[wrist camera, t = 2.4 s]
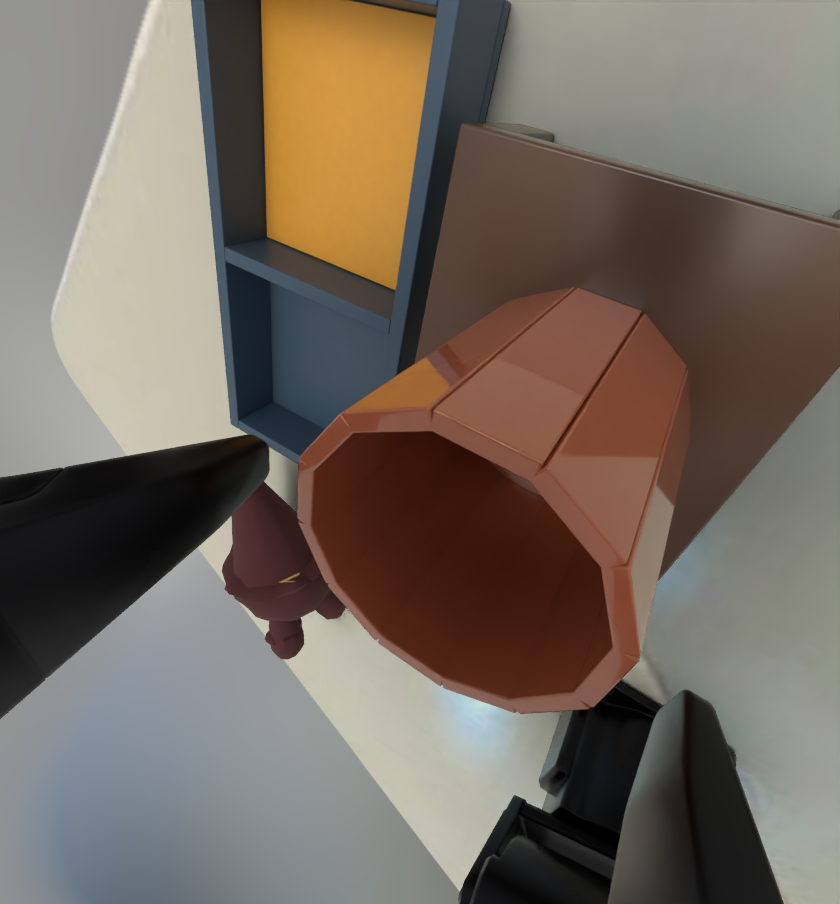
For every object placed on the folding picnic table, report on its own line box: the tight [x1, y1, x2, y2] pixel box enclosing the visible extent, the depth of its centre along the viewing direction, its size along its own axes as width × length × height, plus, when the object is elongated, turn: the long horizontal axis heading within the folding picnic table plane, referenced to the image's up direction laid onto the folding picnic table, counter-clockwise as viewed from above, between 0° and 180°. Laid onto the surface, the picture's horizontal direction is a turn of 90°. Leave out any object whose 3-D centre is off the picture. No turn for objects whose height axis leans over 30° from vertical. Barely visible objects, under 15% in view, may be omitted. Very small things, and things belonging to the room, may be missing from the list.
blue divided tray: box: [191, 0, 510, 464], centre depth 19 cm, size 9×18×3 cm, turn 168°
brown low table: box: [415, 122, 840, 581], centre depth 15 cm, size 10×12×4 cm
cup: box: [297, 287, 691, 714], centre depth 11 cm, size 7×7×8 cm
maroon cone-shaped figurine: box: [222, 481, 345, 659], centre depth 29 cm, size 7×7×15 cm
